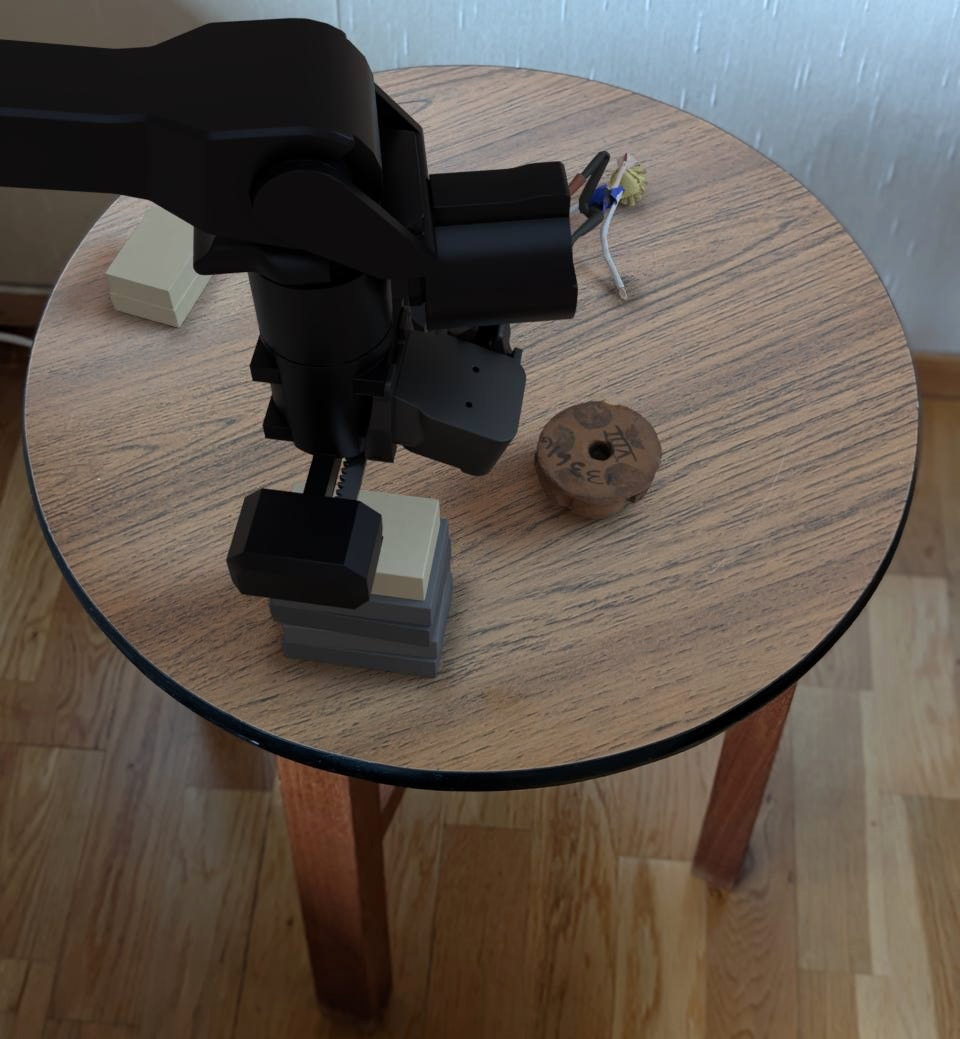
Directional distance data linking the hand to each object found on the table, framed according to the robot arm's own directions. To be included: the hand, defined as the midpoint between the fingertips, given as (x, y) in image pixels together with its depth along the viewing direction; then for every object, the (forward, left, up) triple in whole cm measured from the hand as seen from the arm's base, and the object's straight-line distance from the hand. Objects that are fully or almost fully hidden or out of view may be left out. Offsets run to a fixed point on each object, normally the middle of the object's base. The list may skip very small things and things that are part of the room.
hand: (353, 517), depth 70 cm
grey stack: (0, 0, -12) cm, 12 cm away
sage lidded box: (-14, +28, -12) cm, 33 cm away
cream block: (0, 0, -4) cm, 4 cm away
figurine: (+16, +30, -12) cm, 36 cm away
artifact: (+14, +9, -12) cm, 20 cm away
